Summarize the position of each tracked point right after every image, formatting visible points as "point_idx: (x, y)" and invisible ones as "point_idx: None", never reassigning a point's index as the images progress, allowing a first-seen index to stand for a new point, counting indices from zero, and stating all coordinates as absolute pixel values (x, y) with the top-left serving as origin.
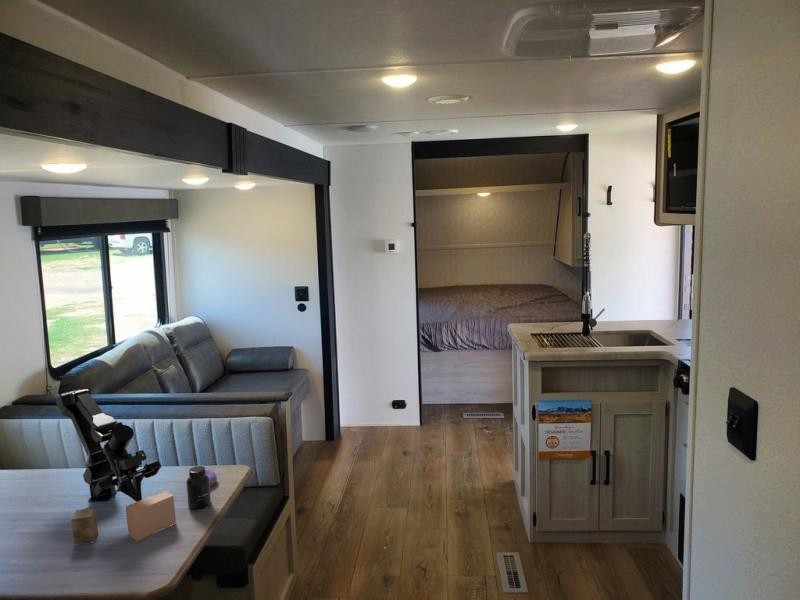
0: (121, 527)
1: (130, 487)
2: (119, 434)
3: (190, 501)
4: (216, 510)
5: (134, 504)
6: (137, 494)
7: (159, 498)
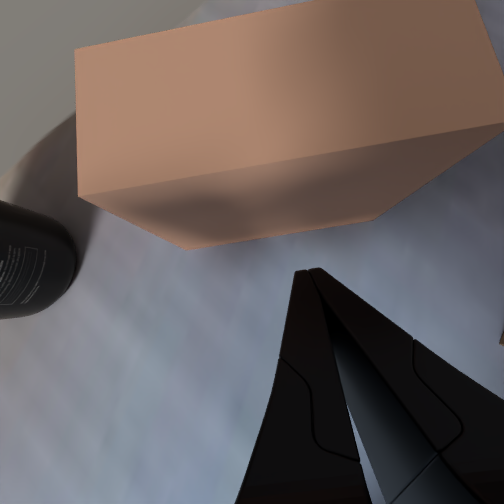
0: None
1: (495, 429)
2: None
3: (40, 239)
4: (16, 171)
5: (424, 102)
6: (336, 312)
7: (186, 73)
